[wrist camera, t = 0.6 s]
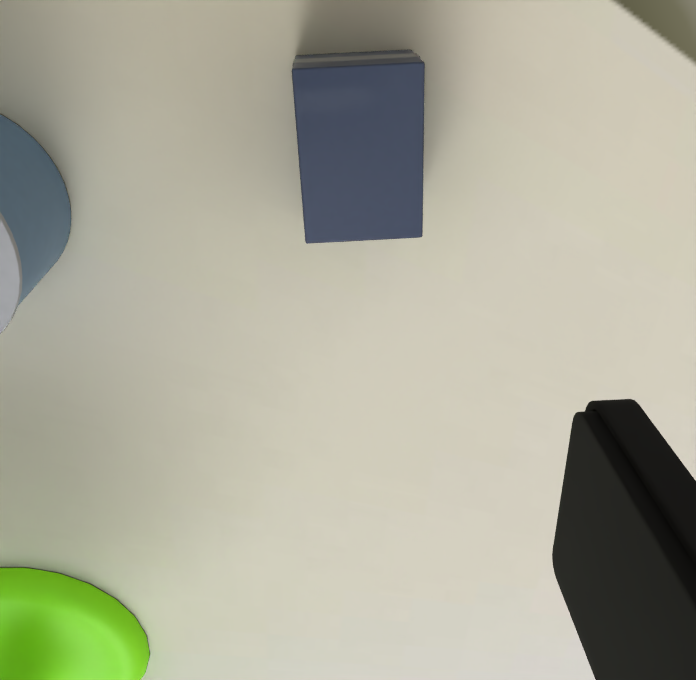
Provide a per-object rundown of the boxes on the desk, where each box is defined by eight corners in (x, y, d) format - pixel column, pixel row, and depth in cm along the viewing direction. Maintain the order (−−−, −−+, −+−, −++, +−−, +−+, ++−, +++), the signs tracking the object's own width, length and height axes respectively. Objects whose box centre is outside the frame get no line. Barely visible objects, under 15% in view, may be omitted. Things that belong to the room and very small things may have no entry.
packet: (294, 54, 28) (290, 68, 25) (412, 48, 28) (425, 61, 25) (306, 213, 32) (305, 244, 28) (411, 207, 32) (423, 238, 28)
